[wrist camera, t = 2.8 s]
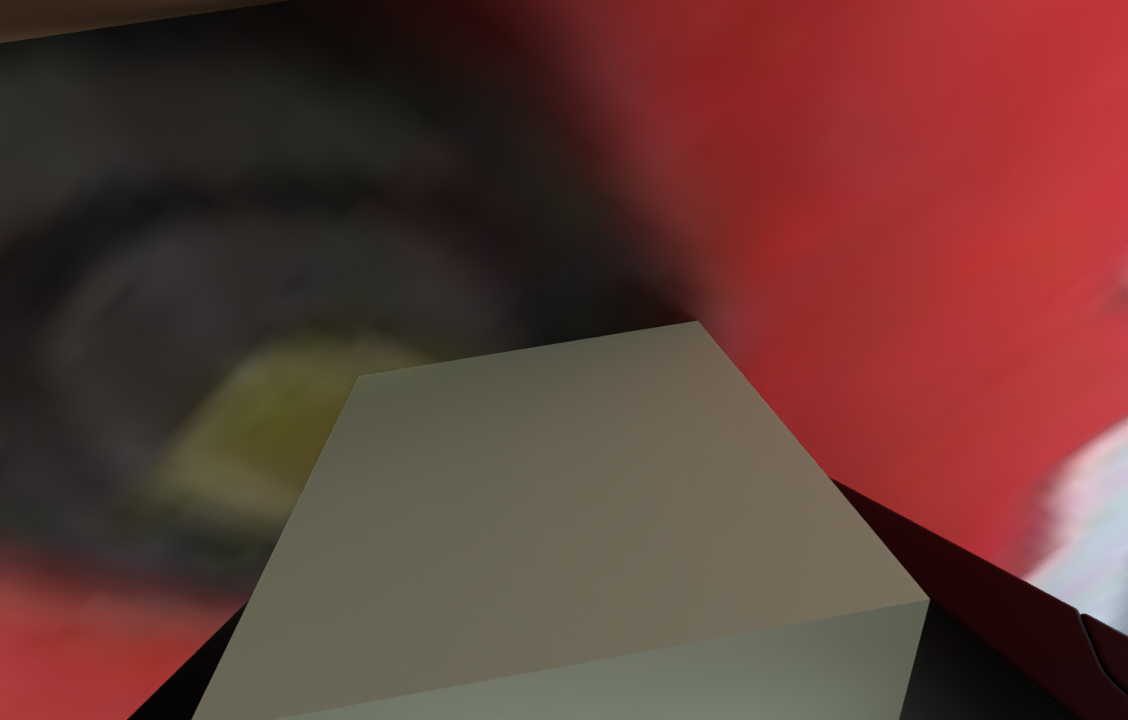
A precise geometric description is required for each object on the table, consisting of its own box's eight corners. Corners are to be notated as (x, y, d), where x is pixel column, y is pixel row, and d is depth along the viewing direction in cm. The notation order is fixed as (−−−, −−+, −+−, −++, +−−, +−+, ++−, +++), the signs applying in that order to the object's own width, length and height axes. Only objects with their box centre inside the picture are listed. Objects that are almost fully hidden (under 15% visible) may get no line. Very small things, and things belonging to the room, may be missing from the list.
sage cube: (696, 318, 8) (931, 599, 4) (700, 558, 10) (849, 910, 6) (359, 373, 8) (183, 737, 4) (439, 605, 10) (393, 1003, 6)
